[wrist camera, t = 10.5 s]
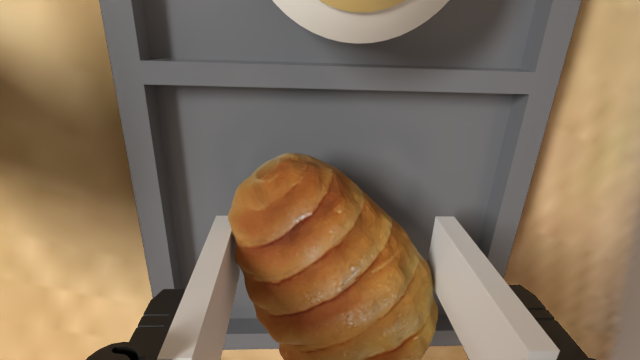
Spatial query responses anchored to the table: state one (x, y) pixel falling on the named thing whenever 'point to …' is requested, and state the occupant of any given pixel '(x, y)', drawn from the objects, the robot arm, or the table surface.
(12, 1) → the table surface
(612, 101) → the table surface
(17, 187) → the table surface
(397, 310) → the pastry
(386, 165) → the serving board
